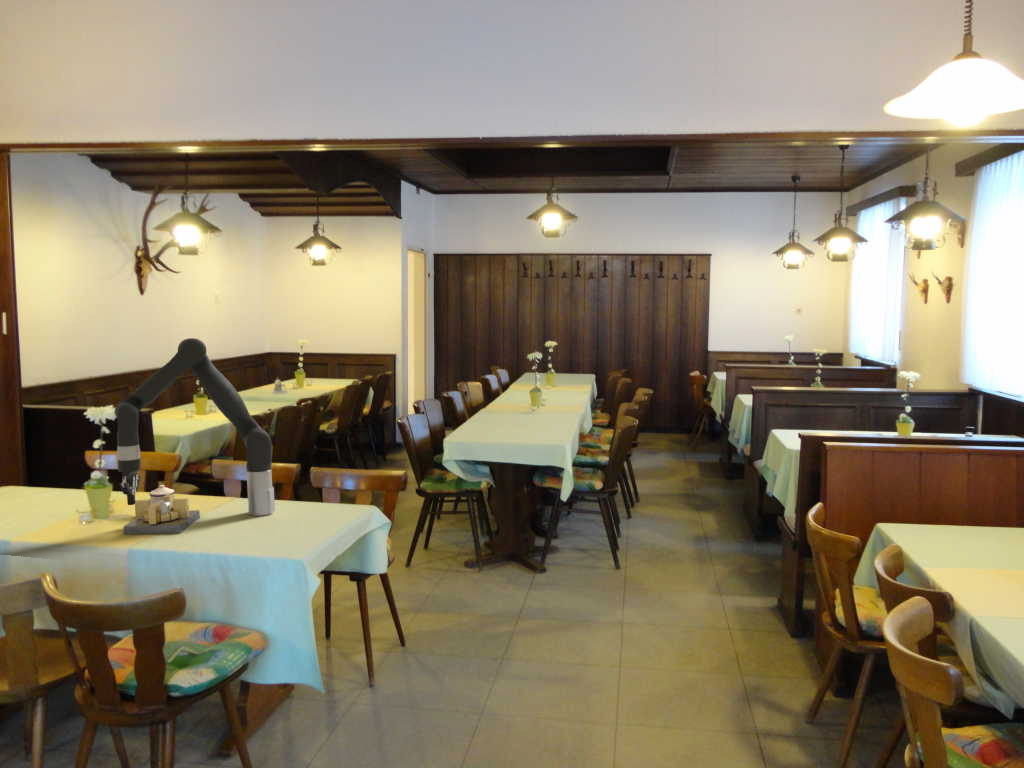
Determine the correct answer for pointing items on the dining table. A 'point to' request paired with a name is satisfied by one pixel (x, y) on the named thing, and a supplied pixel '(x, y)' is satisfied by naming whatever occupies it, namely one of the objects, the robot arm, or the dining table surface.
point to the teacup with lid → (160, 493)
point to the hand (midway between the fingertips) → (131, 504)
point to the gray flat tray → (162, 527)
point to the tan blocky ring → (153, 511)
